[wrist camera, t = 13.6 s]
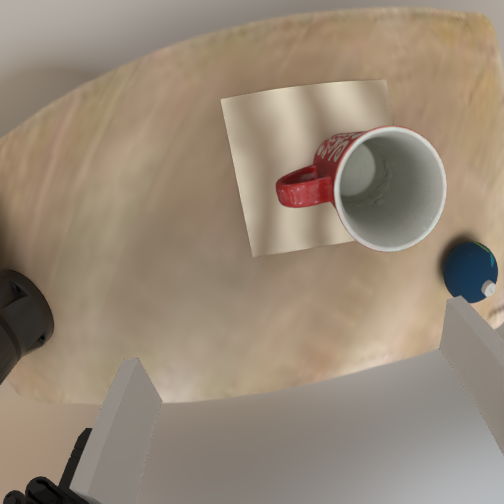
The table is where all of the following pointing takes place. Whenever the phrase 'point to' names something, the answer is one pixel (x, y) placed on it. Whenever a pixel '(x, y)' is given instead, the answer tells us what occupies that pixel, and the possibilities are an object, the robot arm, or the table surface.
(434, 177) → the mug
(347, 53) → the table surface
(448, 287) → the christmas ornament
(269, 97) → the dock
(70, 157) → the table surface
